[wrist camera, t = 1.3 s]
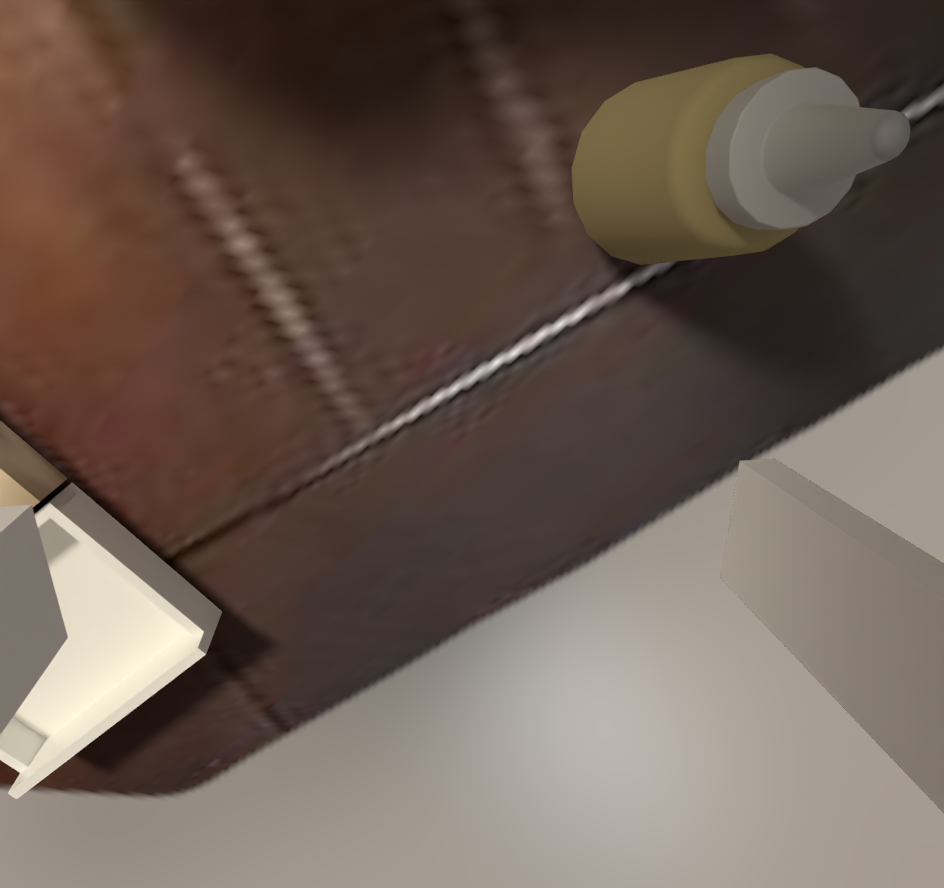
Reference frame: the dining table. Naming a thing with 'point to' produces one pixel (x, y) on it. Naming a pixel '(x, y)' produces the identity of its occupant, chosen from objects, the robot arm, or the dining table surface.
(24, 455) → the beige flat block
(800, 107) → the squeeze bottle
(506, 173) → the dining table surface
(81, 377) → the dining table surface
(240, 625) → the dining table surface
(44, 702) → the tray
